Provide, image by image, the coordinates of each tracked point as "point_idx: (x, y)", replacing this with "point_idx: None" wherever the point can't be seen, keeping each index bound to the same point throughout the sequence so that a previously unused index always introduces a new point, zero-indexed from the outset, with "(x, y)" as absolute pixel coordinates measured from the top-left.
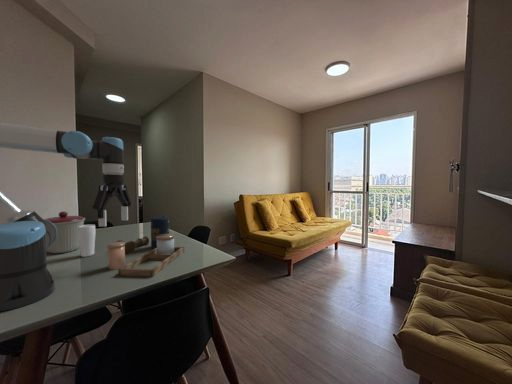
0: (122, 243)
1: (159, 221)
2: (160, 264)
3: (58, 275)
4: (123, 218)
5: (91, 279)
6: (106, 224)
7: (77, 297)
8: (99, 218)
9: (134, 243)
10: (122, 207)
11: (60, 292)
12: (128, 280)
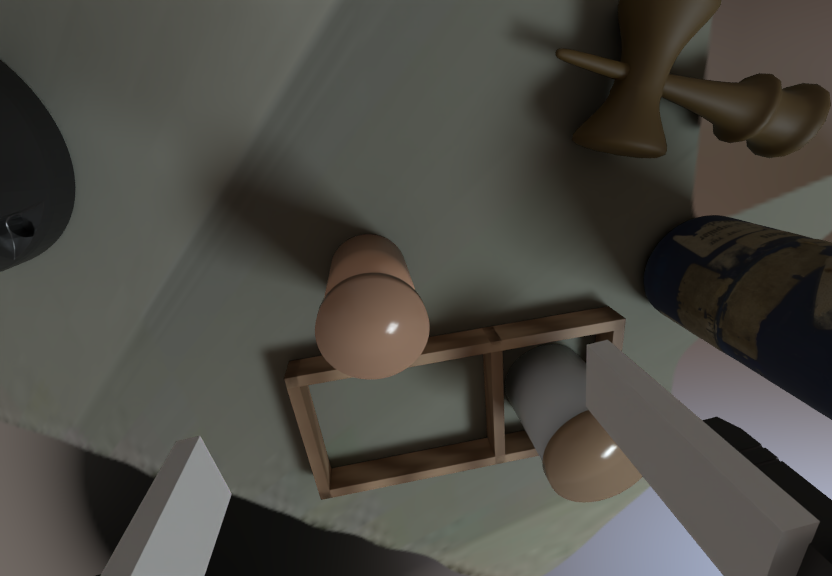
0: (392, 362)
1: (823, 404)
2: (381, 487)
3: (166, 42)
4: (601, 385)
5: (213, 285)
6: (224, 511)
7: (89, 378)
8: (126, 555)
9: (655, 157)
10: (753, 531)
11: (71, 277)
12: (267, 428)
